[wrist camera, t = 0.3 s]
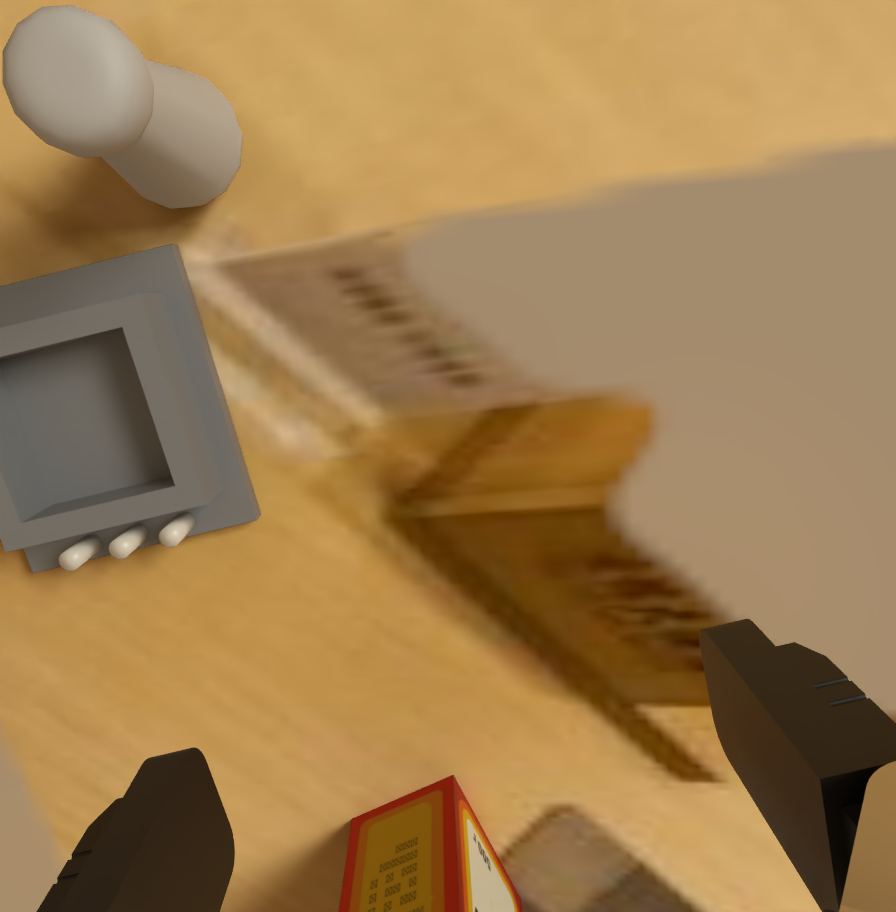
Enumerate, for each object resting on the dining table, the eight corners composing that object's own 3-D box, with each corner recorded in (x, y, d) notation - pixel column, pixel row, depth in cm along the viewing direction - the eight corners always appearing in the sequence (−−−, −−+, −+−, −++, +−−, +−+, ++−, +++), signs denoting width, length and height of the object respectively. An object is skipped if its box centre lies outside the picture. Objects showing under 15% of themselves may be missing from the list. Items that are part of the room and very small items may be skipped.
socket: (-59, 304, 37) (-117, 306, 33) (177, 245, 36) (147, 240, 32) (42, 566, 40) (0, 596, 36) (261, 514, 39) (242, 539, 35)
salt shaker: (140, 217, 36) (-17, 180, 23) (119, 88, 35) (-60, -25, 22) (262, 207, 36) (171, 165, 23) (245, 78, 35) (139, -41, 22)
